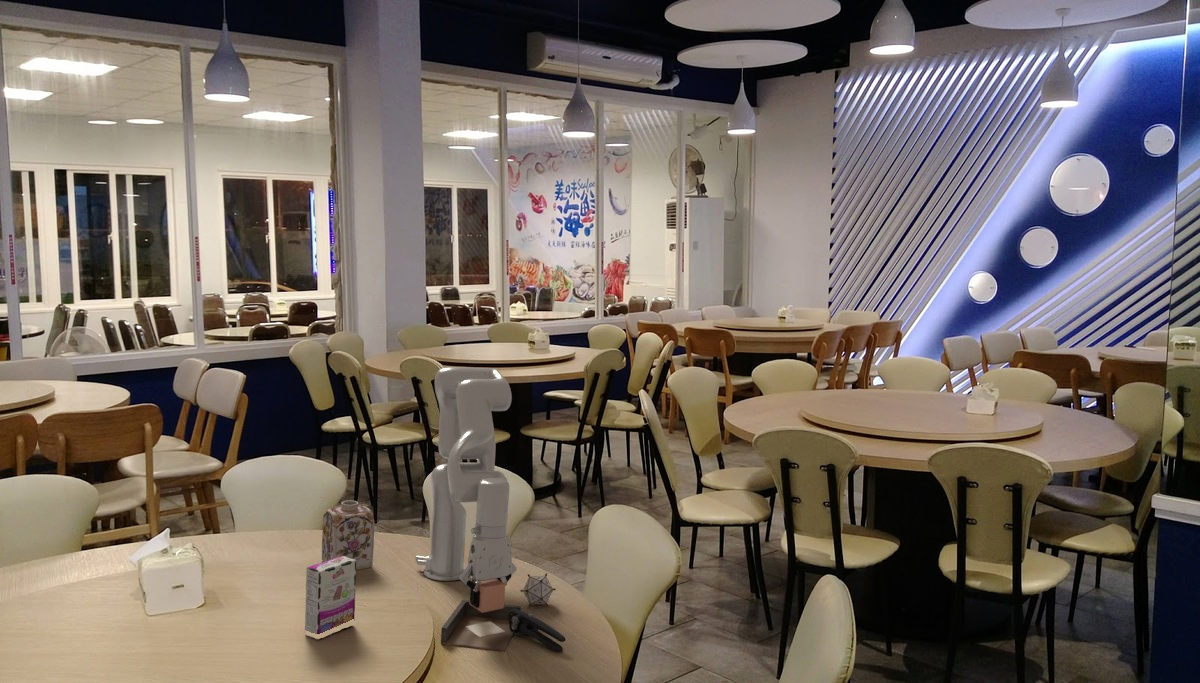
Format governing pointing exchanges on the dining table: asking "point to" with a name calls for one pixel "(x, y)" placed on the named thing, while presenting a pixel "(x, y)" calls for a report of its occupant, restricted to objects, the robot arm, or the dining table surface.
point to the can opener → (534, 628)
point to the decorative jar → (349, 533)
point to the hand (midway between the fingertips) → (486, 602)
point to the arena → (478, 627)
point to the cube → (491, 595)
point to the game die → (537, 590)
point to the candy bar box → (330, 594)
